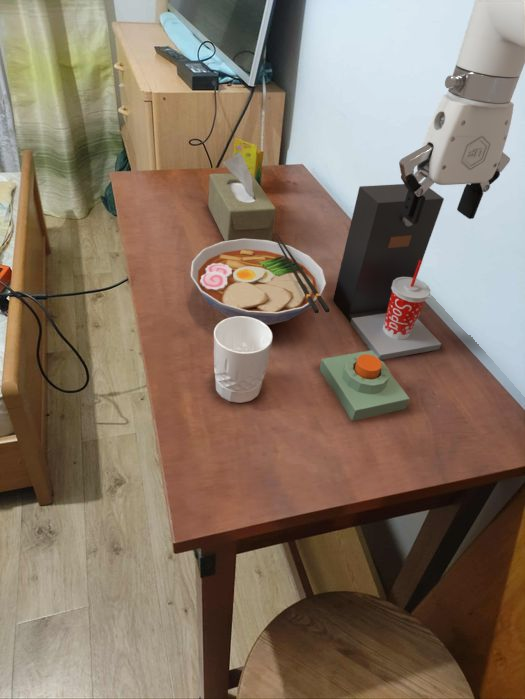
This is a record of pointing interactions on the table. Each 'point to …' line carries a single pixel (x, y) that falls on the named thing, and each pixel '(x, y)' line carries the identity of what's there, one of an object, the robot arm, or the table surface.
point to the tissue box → (240, 203)
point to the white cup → (240, 357)
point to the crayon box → (250, 157)
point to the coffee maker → (384, 265)
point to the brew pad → (362, 387)
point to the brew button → (368, 366)
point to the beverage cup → (405, 305)
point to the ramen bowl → (258, 279)
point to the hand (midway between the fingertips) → (437, 217)
